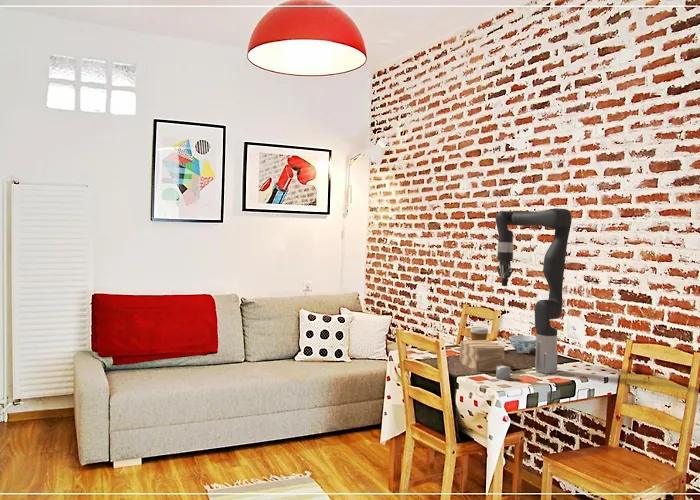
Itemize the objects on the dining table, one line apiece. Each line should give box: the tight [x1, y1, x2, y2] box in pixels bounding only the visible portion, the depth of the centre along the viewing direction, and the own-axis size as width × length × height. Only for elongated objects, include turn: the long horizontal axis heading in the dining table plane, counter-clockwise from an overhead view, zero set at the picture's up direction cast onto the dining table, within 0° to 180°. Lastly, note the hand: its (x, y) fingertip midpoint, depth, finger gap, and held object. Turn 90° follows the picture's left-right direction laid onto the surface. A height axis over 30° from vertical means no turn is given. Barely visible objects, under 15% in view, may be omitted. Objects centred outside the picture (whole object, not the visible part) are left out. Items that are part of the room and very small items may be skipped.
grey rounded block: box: [495, 365, 512, 381], centre depth 266 cm, size 6×6×5 cm
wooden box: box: [459, 341, 505, 372], centre depth 288 cm, size 18×14×10 cm
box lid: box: [459, 339, 505, 350], centre depth 288 cm, size 18×14×1 cm
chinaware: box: [509, 334, 536, 354], centre depth 321 cm, size 15×15×8 cm
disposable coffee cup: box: [469, 326, 489, 340], centre depth 324 cm, size 10×10×12 cm
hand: (504, 285), depth 301 cm, fingers closed
